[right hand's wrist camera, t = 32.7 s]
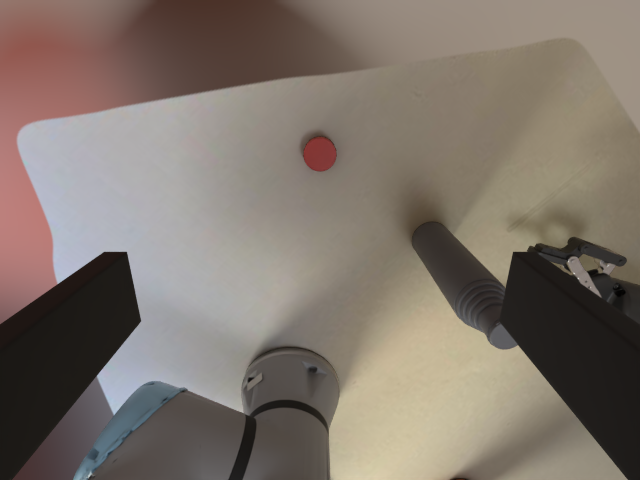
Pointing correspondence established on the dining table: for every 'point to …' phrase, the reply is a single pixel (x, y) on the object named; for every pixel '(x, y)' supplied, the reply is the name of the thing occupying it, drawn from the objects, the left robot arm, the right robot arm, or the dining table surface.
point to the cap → (319, 153)
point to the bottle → (463, 282)
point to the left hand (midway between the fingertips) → (514, 282)
